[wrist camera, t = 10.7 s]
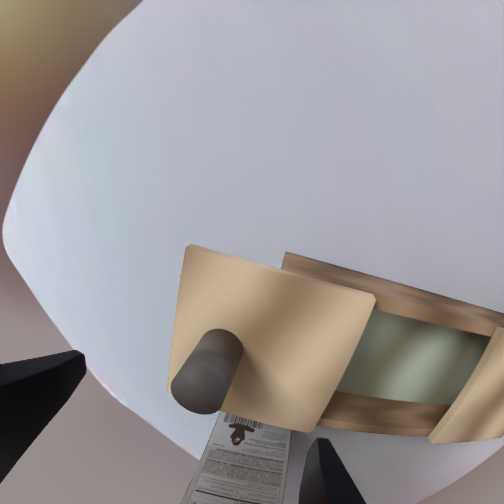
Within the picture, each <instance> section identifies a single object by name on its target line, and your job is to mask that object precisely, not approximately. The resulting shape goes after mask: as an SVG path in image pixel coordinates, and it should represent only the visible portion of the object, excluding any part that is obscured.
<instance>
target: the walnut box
mask: <svg viewBox="0 0 504 504" xmlns="http://www.w3.org/2000/svg"><path fill="white" fill-rule="evenodd" d="M281 269H282V270H286V271H290V272H293V273H297V274H300V275H304V276H308V277H311V278H315V279H319V280H322V281H326V282H330V283H333V284H337V285H341V286H345V287H348V288H352V289H356V290H359V291H363V292H367V293H371V294H373V295H374V297H375V299H376V302H375V304H374V307H373V309H372V312H371V314H370V317H369V319H368V321H367V324H366V326H365V329H364V331H363V333H362V336H361V338H360V340H359V342H358V345H357V347H356V349H355V351H354V353H353V355H352V357H351V360H350V362H349V364H348V366H347V368H346V370H345V372H344V374H343V376H342V378H341V380H340V382H339V384H338V386H337V388H336V390H335V391H334V393H333V395H332V397H331V399H330V401H329V403H328V404H327V406H326V408H325V410H324V412H323V413H322V415H321V417H320V419H319V420H318V422H317V424H316V425H318V426H324V427H330V428H336V429H343V430H351V431H359V432H368V433H378V434H391V435H411V436H429V434H430V433H431V432H432V431H433V429H434V428H435V427H436V426H437V424H438V423H439V422H440V420H441V419H442V418H443V416H444V415H445V414H446V412H447V411H448V410H449V408H450V407H451V405H452V404H453V402H454V401H455V400H456V398H457V397H458V395H459V394H460V392H461V390H462V389H463V387H464V386H465V384H466V383H467V381H468V379H469V378H470V376H471V374H472V373H473V371H474V369H475V368H476V366H477V364H478V362H479V361H480V359H481V357H482V355H483V353H484V351H485V350H486V348H487V346H488V344H489V342H490V340H491V338H492V336H493V334H494V332H495V329H496V327H501V328H504V314H503V313H500V312H496V311H493V310H489V309H486V308H483V307H479V306H476V305H473V304H469V303H466V302H462V301H459V300H455V299H452V298H449V297H445V296H442V295H438V294H435V293H431V292H428V291H424V290H421V289H417V288H414V287H410V286H407V285H403V284H400V283H396V282H393V281H389V280H386V279H382V278H379V277H375V276H372V275H368V274H365V273H361V272H358V271H354V270H350V269H347V268H343V267H340V266H336V265H333V264H329V263H325V262H322V261H318V260H314V259H311V258H307V257H304V256H300V255H296V254H293V253H289V252H285V256H284V260H283V263H282V267H281Z"/></svg>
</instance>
